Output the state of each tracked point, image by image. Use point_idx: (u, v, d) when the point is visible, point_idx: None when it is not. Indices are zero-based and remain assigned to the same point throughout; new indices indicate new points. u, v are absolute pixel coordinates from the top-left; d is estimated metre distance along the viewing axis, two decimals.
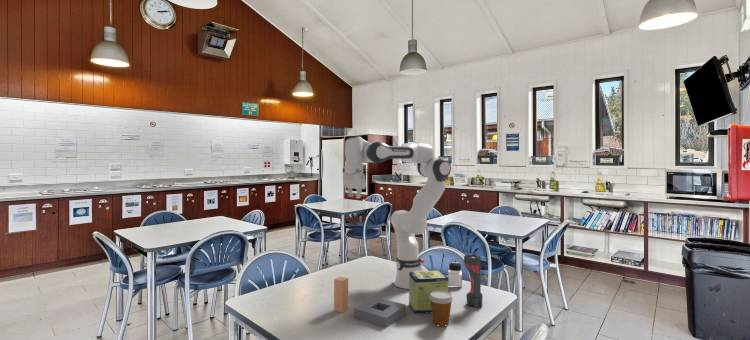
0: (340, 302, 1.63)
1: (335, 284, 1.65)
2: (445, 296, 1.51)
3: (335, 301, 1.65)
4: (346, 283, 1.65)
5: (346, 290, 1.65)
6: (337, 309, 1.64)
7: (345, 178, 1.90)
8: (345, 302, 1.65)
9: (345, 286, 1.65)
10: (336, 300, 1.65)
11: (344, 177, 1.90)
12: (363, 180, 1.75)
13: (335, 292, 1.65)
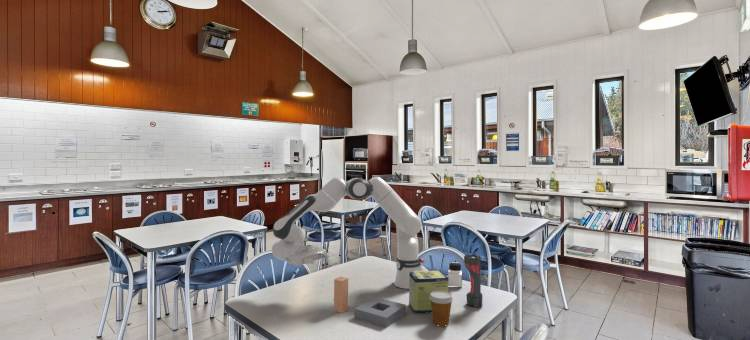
0: (340, 302, 1.63)
1: (335, 284, 1.65)
2: (445, 296, 1.51)
3: (335, 301, 1.65)
4: (346, 283, 1.65)
5: (346, 290, 1.65)
6: (337, 309, 1.64)
7: None
8: (345, 302, 1.65)
9: (345, 286, 1.65)
10: (336, 300, 1.65)
11: None
12: (291, 259, 1.69)
13: (335, 292, 1.65)
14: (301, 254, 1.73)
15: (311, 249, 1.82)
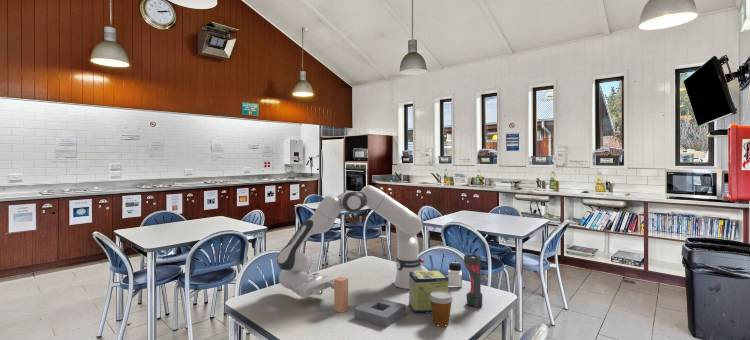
0: (340, 302, 1.63)
1: (335, 284, 1.65)
2: (445, 296, 1.51)
3: (335, 301, 1.65)
4: (346, 283, 1.65)
5: (346, 290, 1.65)
6: (337, 309, 1.64)
7: None
8: (345, 302, 1.65)
9: (345, 286, 1.65)
10: (336, 300, 1.65)
11: None
12: (299, 290, 1.67)
13: (335, 292, 1.65)
14: (309, 284, 1.72)
15: (318, 278, 1.80)
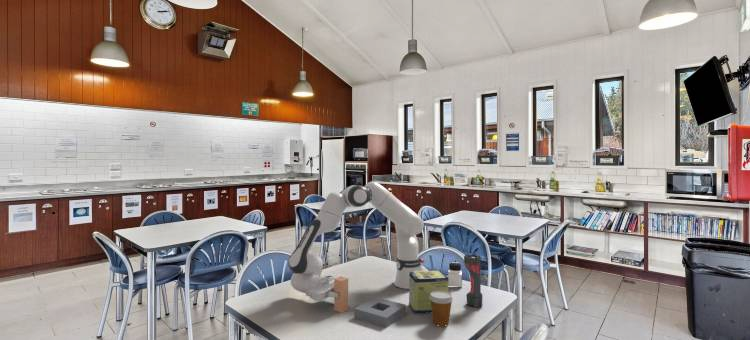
0: (340, 302, 1.63)
1: (335, 284, 1.65)
2: (445, 296, 1.51)
3: (335, 301, 1.65)
4: (346, 283, 1.65)
5: (346, 290, 1.65)
6: (337, 309, 1.64)
7: None
8: (345, 302, 1.65)
9: (345, 286, 1.65)
10: (336, 300, 1.65)
11: None
12: (312, 294, 1.62)
13: None
14: (322, 287, 1.67)
15: (332, 281, 1.75)
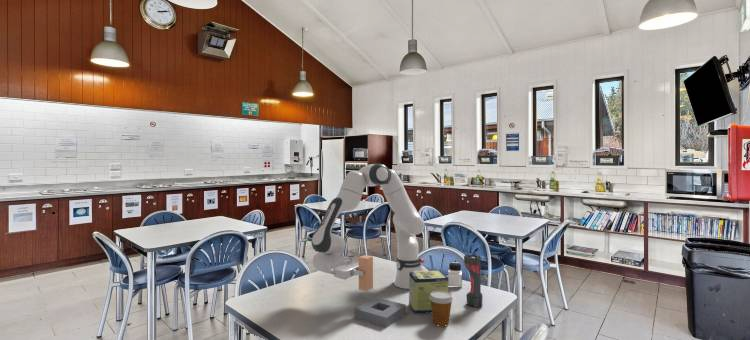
0: (365, 280, 1.59)
1: (360, 262, 1.61)
2: (445, 296, 1.51)
3: (360, 279, 1.61)
4: (371, 261, 1.61)
5: (371, 268, 1.61)
6: (362, 288, 1.61)
7: None
8: (370, 281, 1.61)
9: (370, 264, 1.61)
10: (360, 279, 1.61)
11: None
12: (337, 272, 1.58)
13: None
14: (346, 266, 1.63)
15: (355, 260, 1.71)
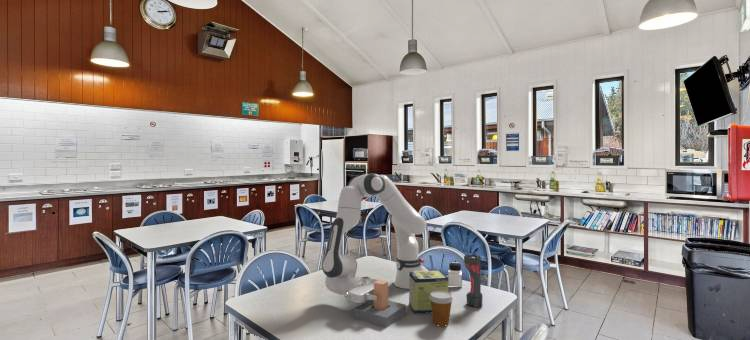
0: (380, 306, 1.57)
1: (375, 287, 1.59)
2: (445, 296, 1.51)
3: (375, 305, 1.59)
4: (386, 286, 1.59)
5: (386, 294, 1.60)
6: None
7: None
8: (385, 307, 1.59)
9: (385, 290, 1.59)
10: (375, 304, 1.59)
11: None
12: (352, 295, 1.56)
13: None
14: (361, 289, 1.61)
15: (369, 282, 1.69)
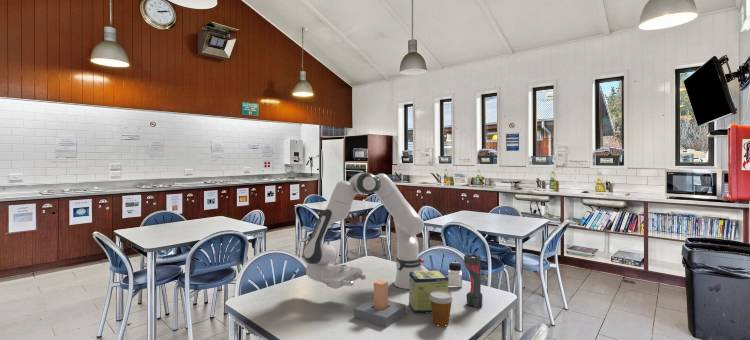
0: (380, 306, 1.57)
1: (375, 288, 1.59)
2: (445, 296, 1.51)
3: (375, 305, 1.59)
4: (386, 287, 1.59)
5: (386, 294, 1.59)
6: None
7: None
8: (385, 307, 1.59)
9: (385, 290, 1.59)
10: (375, 305, 1.59)
11: None
12: (329, 281, 1.65)
13: (375, 296, 1.59)
14: (338, 276, 1.70)
15: (347, 269, 1.78)
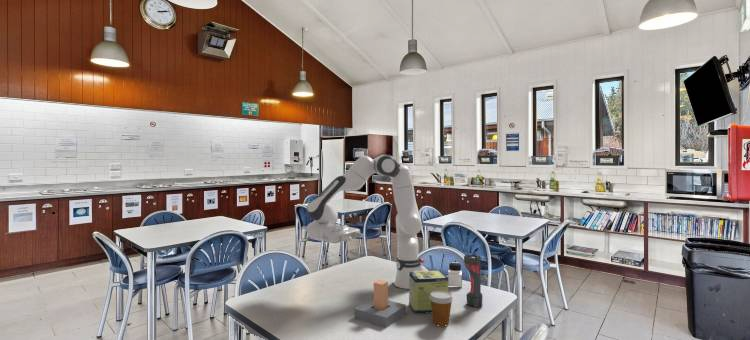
0: (380, 306, 1.57)
1: (375, 288, 1.59)
2: (445, 296, 1.51)
3: (375, 305, 1.59)
4: (386, 287, 1.59)
5: (386, 294, 1.59)
6: None
7: None
8: (385, 307, 1.59)
9: (385, 290, 1.59)
10: (375, 305, 1.59)
11: None
12: (328, 237, 1.73)
13: (375, 296, 1.59)
14: (337, 233, 1.77)
15: (345, 229, 1.86)
